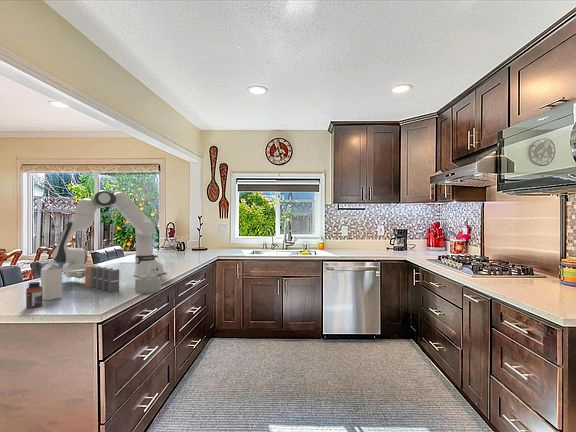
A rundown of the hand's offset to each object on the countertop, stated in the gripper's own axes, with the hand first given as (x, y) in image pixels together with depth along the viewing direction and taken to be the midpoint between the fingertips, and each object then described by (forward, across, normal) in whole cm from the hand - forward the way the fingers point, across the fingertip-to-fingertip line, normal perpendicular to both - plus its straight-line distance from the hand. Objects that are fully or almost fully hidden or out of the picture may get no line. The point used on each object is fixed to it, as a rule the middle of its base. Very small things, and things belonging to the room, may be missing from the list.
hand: (91, 273), depth 198 cm
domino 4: (+25, 0, +8) cm, 26 cm away
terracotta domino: (-1, 0, +8) cm, 8 cm away
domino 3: (+19, 0, +8) cm, 20 cm away
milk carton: (+14, -26, +8) cm, 31 cm away
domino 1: (+6, 0, +8) cm, 10 cm away
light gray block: (+38, +13, +8) cm, 41 cm away
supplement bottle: (+25, -37, +8) cm, 45 cm away
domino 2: (+12, 0, +8) cm, 14 cm away
